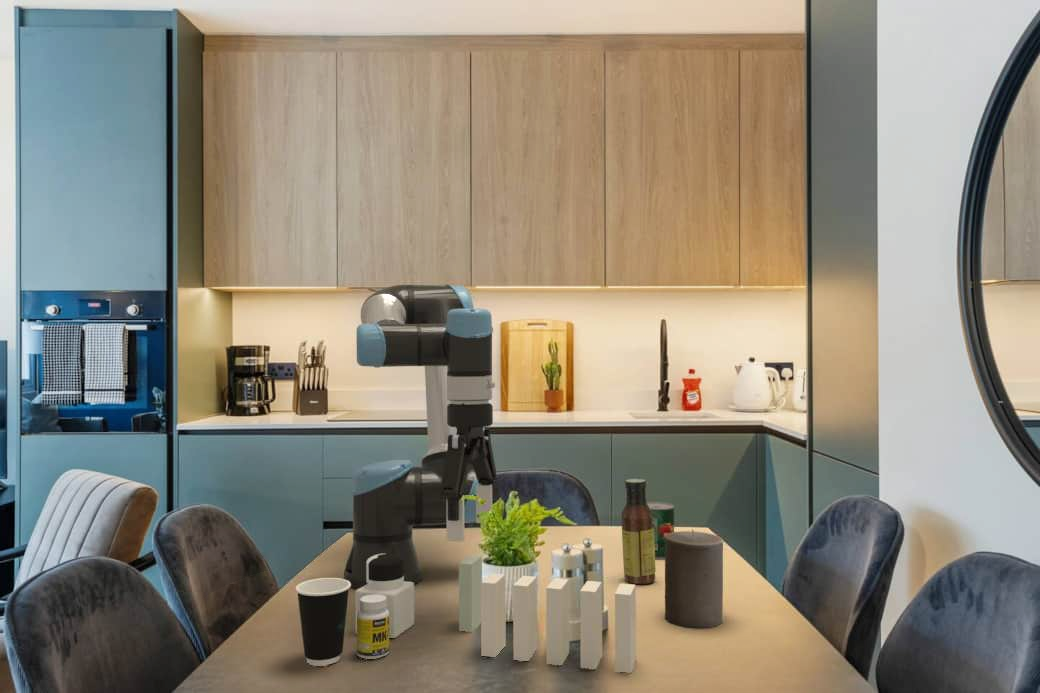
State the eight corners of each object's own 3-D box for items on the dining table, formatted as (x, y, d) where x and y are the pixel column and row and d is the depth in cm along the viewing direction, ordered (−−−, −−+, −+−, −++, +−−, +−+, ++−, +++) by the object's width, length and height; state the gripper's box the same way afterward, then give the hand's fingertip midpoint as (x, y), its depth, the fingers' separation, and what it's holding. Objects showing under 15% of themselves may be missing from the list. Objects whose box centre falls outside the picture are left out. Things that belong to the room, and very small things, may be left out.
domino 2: (513, 660, 113) (513, 585, 113) (523, 648, 118) (522, 575, 118) (528, 662, 112) (527, 586, 113) (537, 649, 117) (536, 576, 117)
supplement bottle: (374, 663, 112) (373, 605, 113) (350, 656, 115) (350, 599, 115) (396, 652, 117) (395, 596, 117) (372, 646, 119) (372, 591, 119)
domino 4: (580, 668, 110) (580, 590, 110) (587, 655, 115) (587, 580, 115) (595, 669, 110) (595, 592, 110) (602, 656, 114) (601, 582, 115)
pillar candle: (659, 624, 128) (660, 533, 128) (669, 606, 137) (669, 521, 137) (720, 632, 124) (720, 538, 124) (726, 612, 134) (726, 525, 134)
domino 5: (615, 672, 109) (614, 593, 109) (621, 658, 114) (620, 583, 114) (631, 673, 108) (630, 594, 108) (636, 660, 113) (635, 584, 113)
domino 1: (481, 656, 115) (480, 582, 115) (492, 644, 119) (491, 573, 119) (495, 658, 114) (495, 583, 114) (505, 646, 119) (505, 574, 119)
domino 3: (546, 664, 112) (546, 587, 112) (555, 651, 116) (554, 578, 117) (561, 665, 111) (561, 589, 111) (569, 653, 116) (568, 579, 116)
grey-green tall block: (459, 631, 125) (458, 563, 125) (469, 621, 130) (469, 555, 130) (471, 632, 125) (471, 564, 125) (482, 622, 129) (481, 556, 129)
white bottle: (415, 624, 128) (414, 552, 129) (394, 639, 122) (394, 563, 122) (377, 620, 131) (376, 549, 131) (354, 634, 124) (354, 559, 124)
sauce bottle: (654, 576, 155) (653, 477, 155) (656, 586, 149) (656, 482, 149) (621, 576, 156) (620, 477, 156) (622, 585, 150) (621, 482, 150)
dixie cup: (359, 662, 113) (359, 586, 113) (306, 675, 108) (306, 597, 108) (339, 646, 119) (338, 574, 119) (288, 657, 115) (287, 583, 115)
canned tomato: (638, 549, 177) (638, 501, 177) (673, 550, 175) (673, 502, 176) (638, 559, 169) (638, 508, 169) (675, 560, 168) (675, 509, 168)
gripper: (464, 407, 115) (465, 550, 114) (513, 398, 139) (514, 517, 138) (417, 406, 117) (418, 547, 116) (474, 398, 141) (475, 515, 140)
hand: (470, 531), depth 127 cm, fingers open, 13 cm apart
